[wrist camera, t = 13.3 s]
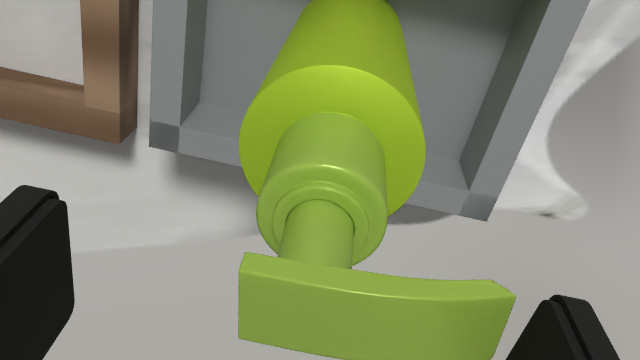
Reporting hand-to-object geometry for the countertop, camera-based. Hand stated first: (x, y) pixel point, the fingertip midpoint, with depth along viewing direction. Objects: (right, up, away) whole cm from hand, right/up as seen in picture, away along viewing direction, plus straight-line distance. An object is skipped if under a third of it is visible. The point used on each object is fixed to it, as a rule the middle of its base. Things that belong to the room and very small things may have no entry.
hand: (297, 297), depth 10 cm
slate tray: (+2, +10, +18) cm, 21 cm away
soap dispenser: (+2, +10, +17) cm, 20 cm away
